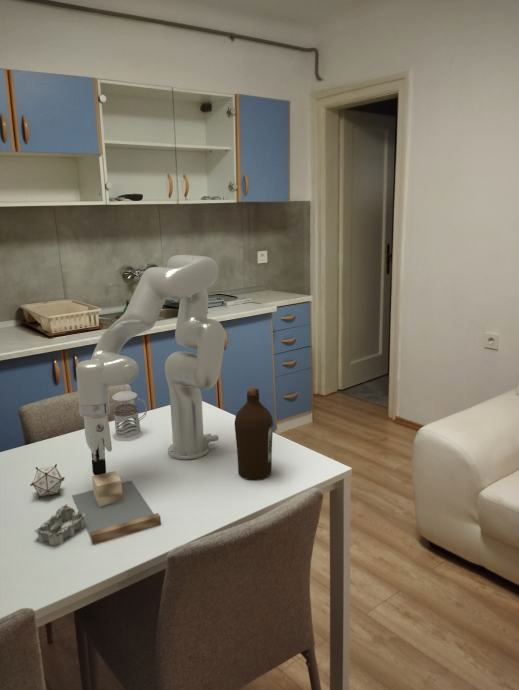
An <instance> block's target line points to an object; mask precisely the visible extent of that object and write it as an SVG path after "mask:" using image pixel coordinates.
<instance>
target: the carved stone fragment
mask: <svg viewBox="0 0 519 690" xmlns="http://www.w3.org/2000/svg"><path fill="white" fill-rule="evenodd" d="M85 515H87V514H85V513H81V512H80V511H78V510H77V512H76V510H75V509H74V508H73V507H71V506H68V504H67V503H66V504H64V505H63V506H61V507H60V508H59V509H57V510H56V512H55V514H53V515H51V516H50V518H49V519H47V520H46V521H45V522H43V523H42V524H41V525H40V526H39V527H38V528H36V529H35V530H34V532H35V533H36V534H37V535H38V542H41V543H43V542H46V541H48V542H49V545H50V546H55V545H62V544H63V543H64V539H65V538H68V537H73V536H74V535H75V533H76V530H78V529H81V530H82V529H85V528H86V527H85V523H84V522H85V521H84V516H85ZM65 521H69V522H68V524H65V525H63V522H65Z"/></svg>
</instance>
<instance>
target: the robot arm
mask: <svg viewBox="0 0 519 690" xmlns="http://www.w3.org/2000/svg"><path fill="white" fill-rule="evenodd" d="M218 277H219V266H218V263H217V262H216V261H215V260H214V259H213V258H212V257H209V256H206V255H205V256H204V255H193V254H175V255H173V256H171V257H170V258H169V259H168V260H167V264H166V267H163V266H153V267H149V268H147V269H146V270H145V271H144V272H143V273H142V275H141V277H140V279H139V281H138V283H137V285H136V288H135V289H134V292H133V294H132V296H131V299H130V301H129V303H128V305H127V308H126V310H124V311H125V312H124V313H123V315H121V316H119V318H118V319H116V321H115V322H113V323H112V324H111V325H110V326H109V327H107V329H106V330H105V331H104V332H103V334H101V336H100V338H99V339H98V341H97V344H96V346H95V348H94V350H93V353H92V355H91V358H90V359H86V360H81V361H79V362H78V363H77V365H76V367H75V373H76V386H77V397H78V399H77V400H78V411H79V416H80V417H82V418H83V419H84V420H83V421H84V423H83V424H84V435H85V436H84V437H85V442H86V444H87V447H88V448H89V450H90V452H91V453H90V454H91V468H92V474H93V476H96V475H100V474H104V473H107V465H106V451H107V452H109V453H110V452H112V450H113V446H112V439H111V430H110V429H111V428H110V421H109V417H108V415H109V414H110V413H111V407H110V392H109V387H116V386H125V385H128V384H131V383H132V382H134V381H135V380H136V379H137V377H138V376H139V371H140V368H139V365H138V363H137V362H136V360H135V359H133V358H131V357H129V356H125V355H121V354H119V353H120V351H121V349H122V348H123V347H124V345H125V344H126V343H127V342H128V341H129V340H130V339H132V338H134V337H135V336H137V335H140V334H143V333H145V332H147V331H149V330H152V329H153V328H154V326H155V324H156V322H157V320H158V318H159V316H160V313H161V311H162V309H163V306H164V305H165V303H166V300H169V301H170V300H171V301H179V306H178V307H179V308H178V312H177V318H176V325H175V332H174V335H175V336H174V338H175V341H176V343H177V344H178V345H179V346H182V347H184V348H188V349H193V350H196V352H197V353H193V352H188V351H182V350H181V351H179V350H178V351H175V352H173V353H171V354H170V355H168V357H167V358H166V360H165V363H164V374H165V379H166V382H167V385H168V391H169V401H170V403H169V404H170V418H171V435H172V436H171V437H172V444H170V445H169V446H168V448H167V453H168V455H169V456H170V457H172V458H174V459H177V460H178V459H179V460H194V459H198V458H201V457H203V456H206V455H207V454H208V453H209V451H210V445H209V444H211V443H212V442H213V443H215V442H218V441H219V435H218V434H213V435H212V433H207V434H204V421H203V420H204V419H203V418H204V417H203V413H204V412H203V397H202V392H201V390H206V391H207V390H210V389H211V388H213V387H214V386H215V385H216V383H217V382H218V381H219V378H220V374H221V370H222V364H223V357H224V350H225V345H226V344H225V343H226V332H225V329H224V327H223V325H222V323H220V322H219V321H218V320H216V319H213V318H208V311H209V303H210V302H209V295H208V291H207V289H208V288H210V287H211V286H212V285H214V283H216V281H217V280H218ZM105 449H106V450H105Z"/></svg>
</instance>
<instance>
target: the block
mask: <svg viewBox="0 0 519 690" xmlns="http://www.w3.org/2000/svg"><path fill="white" fill-rule="evenodd" d="M91 477H92V487H93V489H92V490H94V498H95V500H96V502H97V504H98V505H99V507H100V508H101V507H104V506H108V505H112V504H116V503H119V502H123V494H122V483H123V482H122V479H121V477H120V476H119V475H118V472H116V470H113V471H109V472H106V473H104V474H100V475H93V476H91Z"/></svg>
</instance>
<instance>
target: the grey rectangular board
mask: <svg viewBox="0 0 519 690" xmlns="http://www.w3.org/2000/svg"><path fill="white" fill-rule="evenodd" d="M121 483H122V494H123V502H119V503H116V504H112V505H108V506H104V507H101V508H100V507H99V505H98V504H97V502H96V500H95V498H94V490H93V489H92V490H88V491H85V492H80V493H76V494H73V495H71V497H72V500H73V501H74V504H75V507H76V509H77V512H78V511H80V512H81V513H85V514H87V515H85V516H84V521H85V522H84V523H85V527H84V528H85V529H86V532H87V534H88V537H89V539H90V540H91V533H90V532H93V531H97V530H100V529H104V528H107V527H111V526H114V525H118V524H121V523H125V522H128V521H132V520H135V519H139V518H142V517H146V516H149V515H153V514H155V513H154V512H153V510H152V509H151V507H150V505H148V503H147V501H146V500H145V499H144V497H143V495H142V494H141V493H140V491H139V489H138V488H137V486H135V484H134V483H133V481H132V480H127V481H124V482H121Z"/></svg>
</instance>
